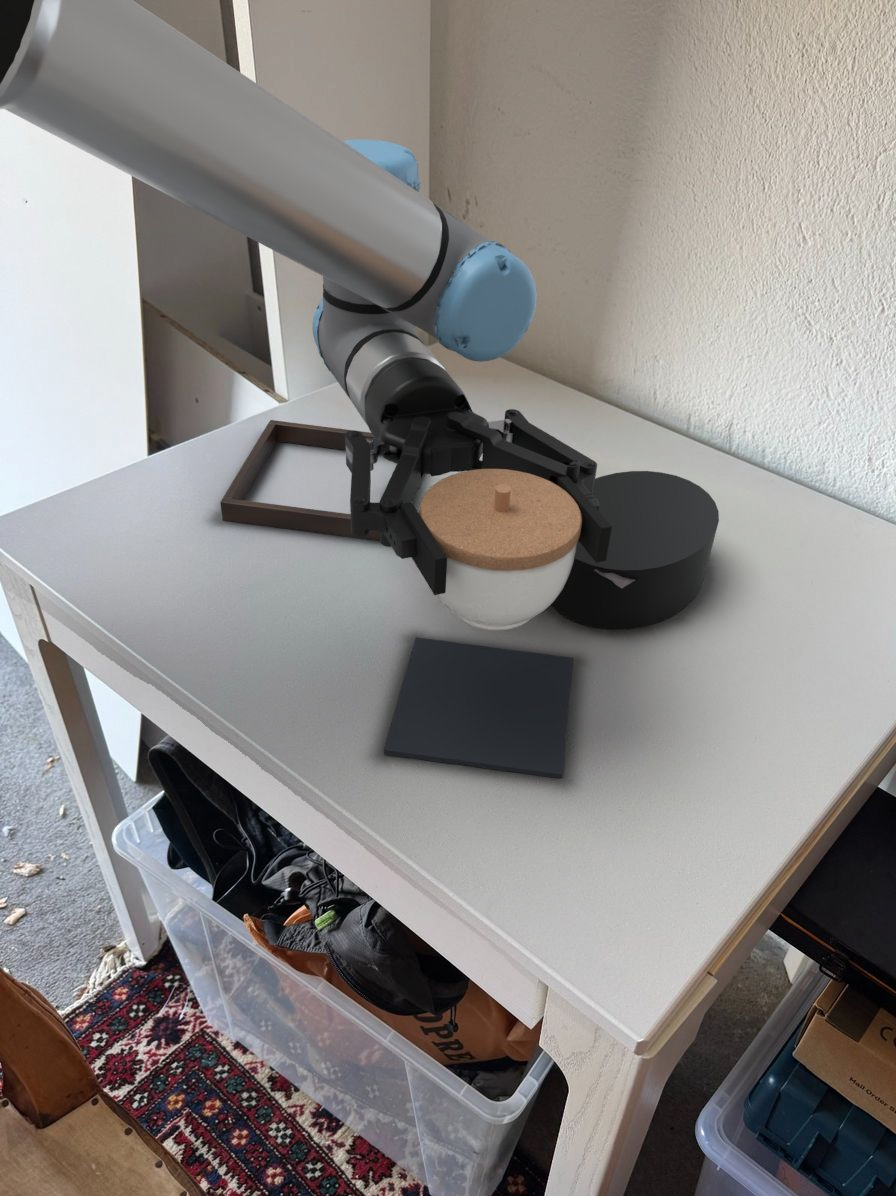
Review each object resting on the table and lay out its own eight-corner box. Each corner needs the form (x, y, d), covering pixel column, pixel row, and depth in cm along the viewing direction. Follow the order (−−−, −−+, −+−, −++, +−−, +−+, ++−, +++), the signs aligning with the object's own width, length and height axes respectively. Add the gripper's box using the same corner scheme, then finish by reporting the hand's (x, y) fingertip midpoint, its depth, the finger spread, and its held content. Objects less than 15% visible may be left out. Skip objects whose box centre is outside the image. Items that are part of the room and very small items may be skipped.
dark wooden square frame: (222, 520, 94) (220, 501, 92) (271, 436, 106) (270, 419, 104) (393, 542, 93) (393, 524, 92) (423, 456, 105) (424, 439, 104)
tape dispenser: (736, 579, 95) (756, 509, 90) (622, 653, 84) (638, 577, 79) (614, 518, 102) (627, 450, 97) (494, 579, 91) (502, 505, 86)
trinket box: (588, 643, 69) (608, 528, 62) (433, 660, 66) (438, 542, 60) (544, 553, 76) (558, 442, 70) (404, 565, 74) (406, 451, 68)
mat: (383, 754, 73) (383, 749, 73) (415, 641, 83) (415, 636, 83) (561, 778, 73) (562, 774, 73) (572, 662, 83) (573, 657, 82)
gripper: (538, 426, 85) (670, 574, 71) (264, 465, 77) (350, 642, 63) (547, 340, 80) (691, 481, 66) (256, 373, 72) (346, 542, 58)
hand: (525, 560), depth 64 cm, fingers closed on trinket box, 11 cm apart
